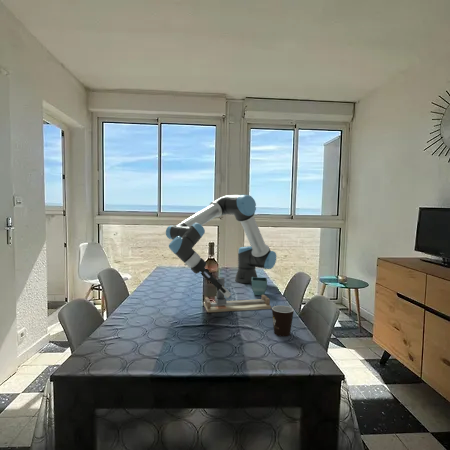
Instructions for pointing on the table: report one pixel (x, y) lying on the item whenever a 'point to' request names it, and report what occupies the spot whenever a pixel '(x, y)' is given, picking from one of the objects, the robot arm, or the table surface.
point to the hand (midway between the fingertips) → (228, 294)
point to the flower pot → (259, 285)
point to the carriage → (220, 297)
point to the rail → (238, 305)
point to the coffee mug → (282, 320)
